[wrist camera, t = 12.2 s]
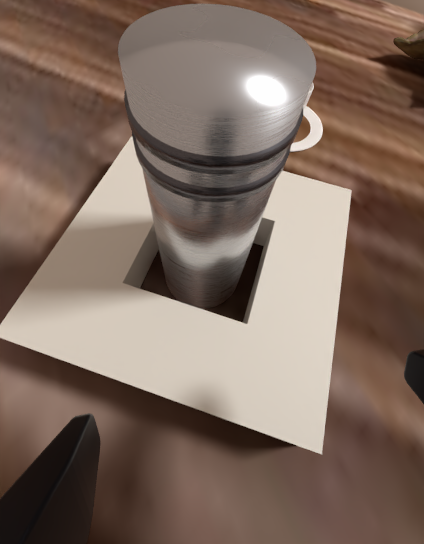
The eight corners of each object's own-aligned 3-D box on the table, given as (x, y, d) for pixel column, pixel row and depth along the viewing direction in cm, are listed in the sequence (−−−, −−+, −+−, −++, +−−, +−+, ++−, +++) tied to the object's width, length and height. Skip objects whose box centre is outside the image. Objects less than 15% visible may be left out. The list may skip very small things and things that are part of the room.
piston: (251, 297, 18) (358, 98, 6) (174, 319, 17) (137, 132, 5) (225, 233, 20) (271, -3, 8) (155, 250, 19) (99, 8, 7)
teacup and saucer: (247, 91, 29) (255, 45, 25) (321, 105, 29) (340, 62, 25) (233, 145, 25) (240, 101, 21) (318, 163, 25) (340, 121, 21)
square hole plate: (297, 445, 14) (321, 454, 12) (26, 347, 16) (-8, 334, 13) (331, 217, 21) (351, 190, 19) (142, 162, 23) (136, 129, 20)
